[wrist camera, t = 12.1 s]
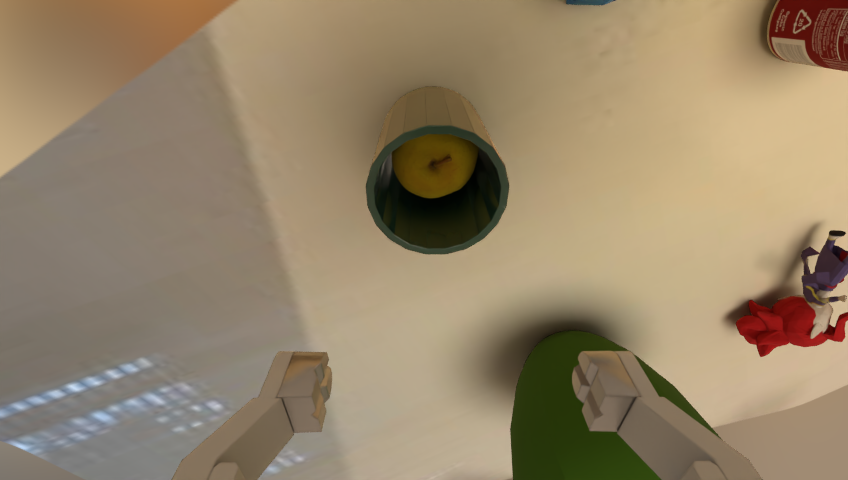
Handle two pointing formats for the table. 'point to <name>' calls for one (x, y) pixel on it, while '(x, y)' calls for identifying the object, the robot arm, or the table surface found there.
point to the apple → (434, 164)
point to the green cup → (447, 215)
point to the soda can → (810, 32)
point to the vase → (573, 418)
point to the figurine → (802, 306)
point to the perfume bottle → (588, 2)
